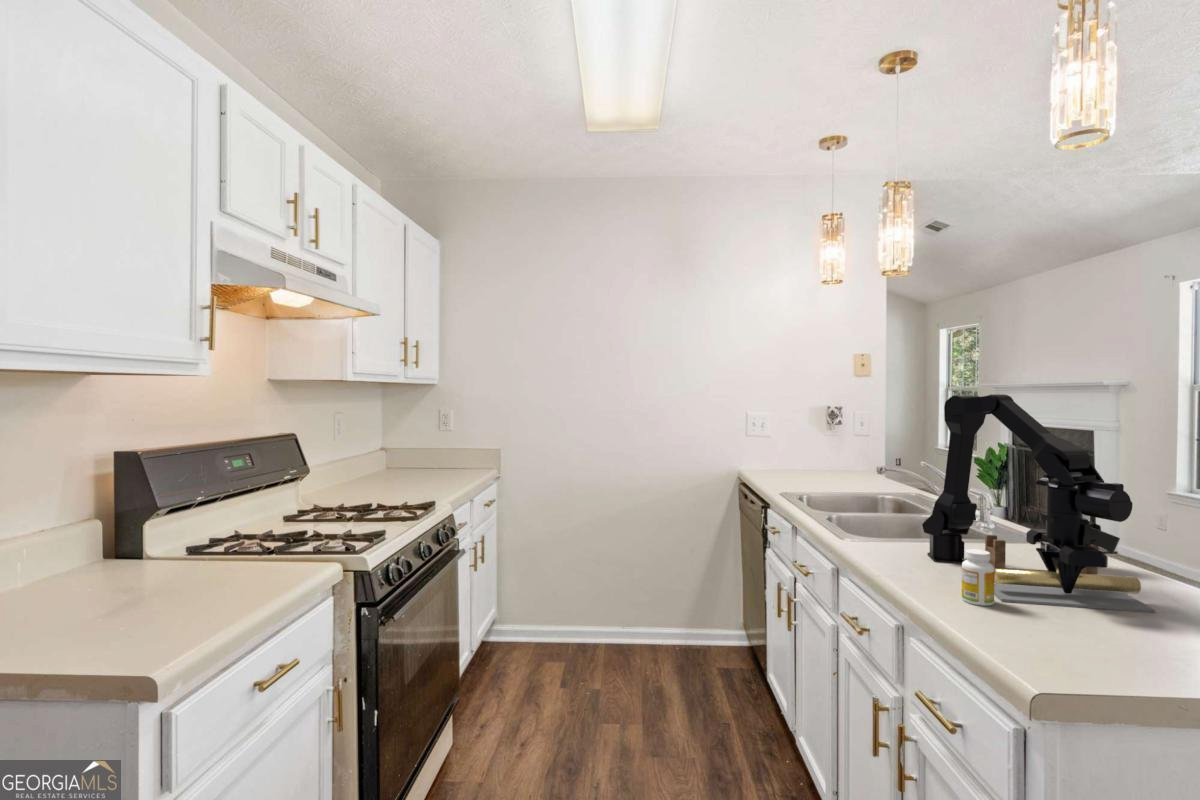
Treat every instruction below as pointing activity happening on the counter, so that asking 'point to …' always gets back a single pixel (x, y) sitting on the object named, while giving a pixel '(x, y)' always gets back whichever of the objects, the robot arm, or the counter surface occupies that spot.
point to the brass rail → (1053, 581)
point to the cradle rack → (998, 555)
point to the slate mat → (1069, 598)
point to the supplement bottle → (978, 578)
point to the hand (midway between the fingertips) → (1063, 590)
